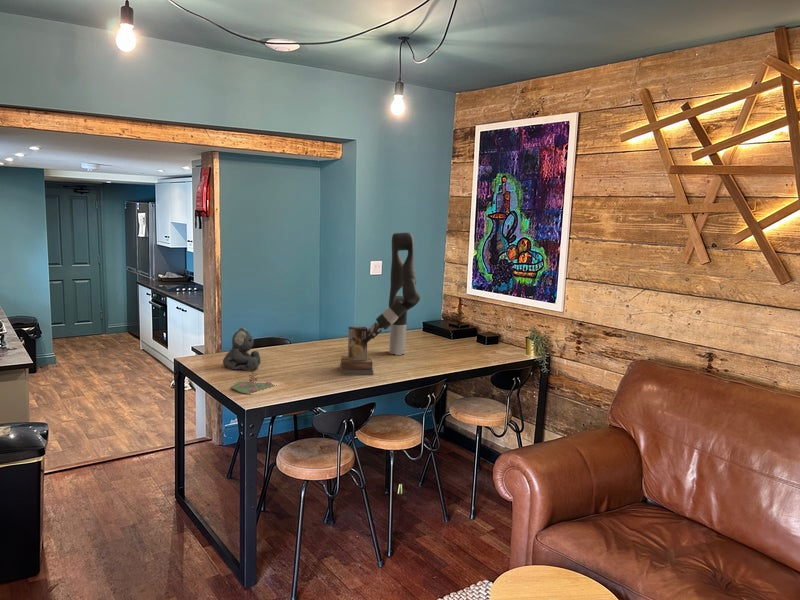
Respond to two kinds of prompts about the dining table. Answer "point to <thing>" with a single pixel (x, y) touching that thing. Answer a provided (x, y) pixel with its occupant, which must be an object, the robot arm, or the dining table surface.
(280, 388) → the dining table surface
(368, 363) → the walnut brick
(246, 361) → the koala plush
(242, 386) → the plant
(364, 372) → the baseplate
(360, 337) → the coffee box
